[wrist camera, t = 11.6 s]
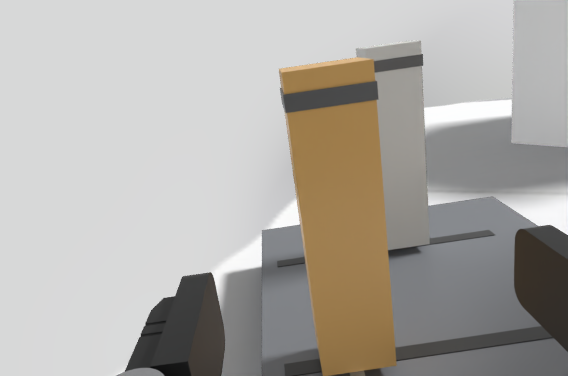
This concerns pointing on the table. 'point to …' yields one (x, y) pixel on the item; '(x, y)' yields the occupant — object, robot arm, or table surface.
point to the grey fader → (402, 140)
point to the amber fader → (341, 210)
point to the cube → (540, 73)
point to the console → (422, 302)
